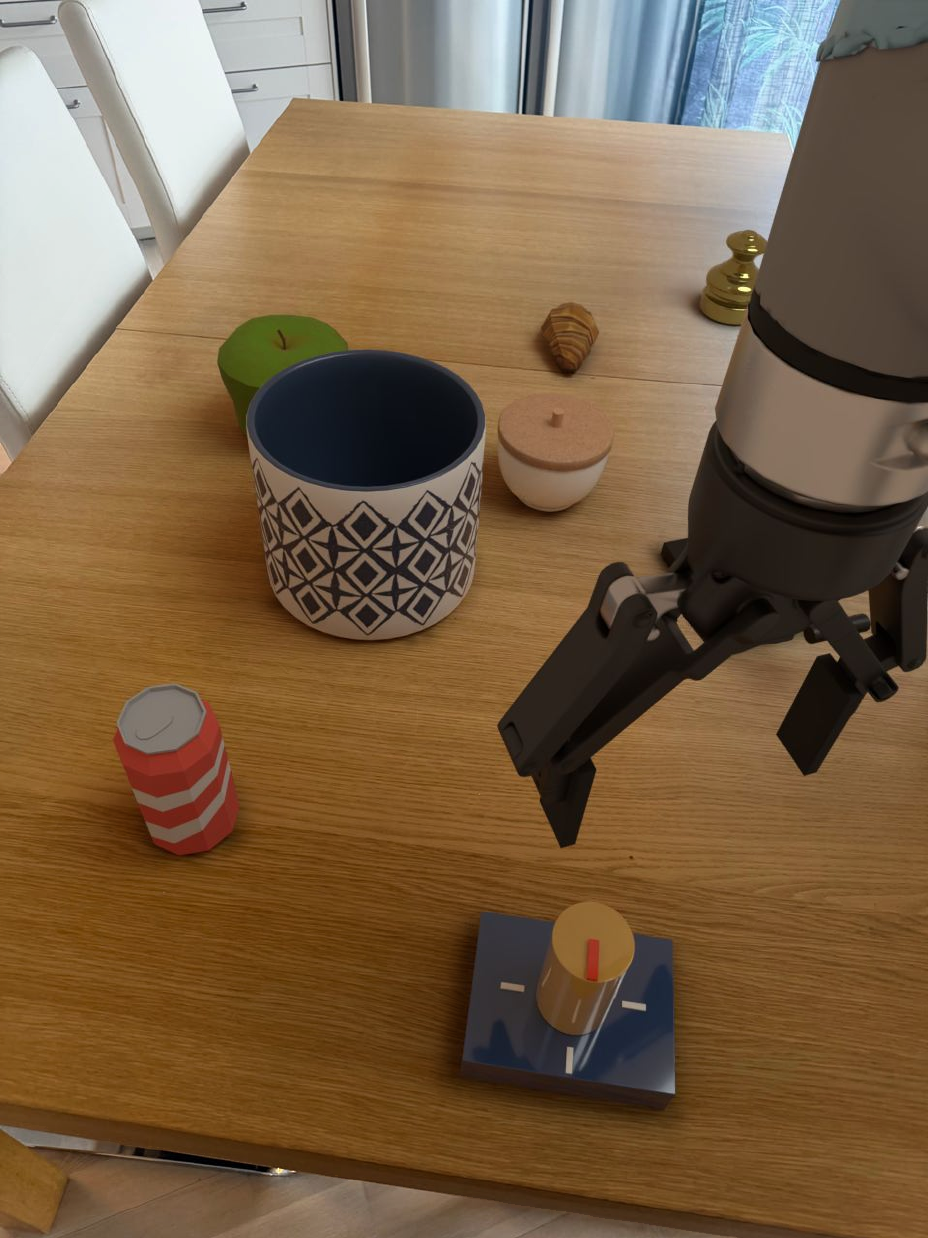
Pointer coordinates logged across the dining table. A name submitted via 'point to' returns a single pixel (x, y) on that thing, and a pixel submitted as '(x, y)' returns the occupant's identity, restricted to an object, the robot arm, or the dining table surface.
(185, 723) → the beverage can
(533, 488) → the trinket box
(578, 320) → the croissant
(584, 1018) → the valve knob
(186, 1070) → the dining table surface
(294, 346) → the apple
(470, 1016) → the valve plate
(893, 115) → the robot arm
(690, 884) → the dining table surface
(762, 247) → the gold metal turned piece
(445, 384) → the planter
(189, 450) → the dining table surface
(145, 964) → the dining table surface
